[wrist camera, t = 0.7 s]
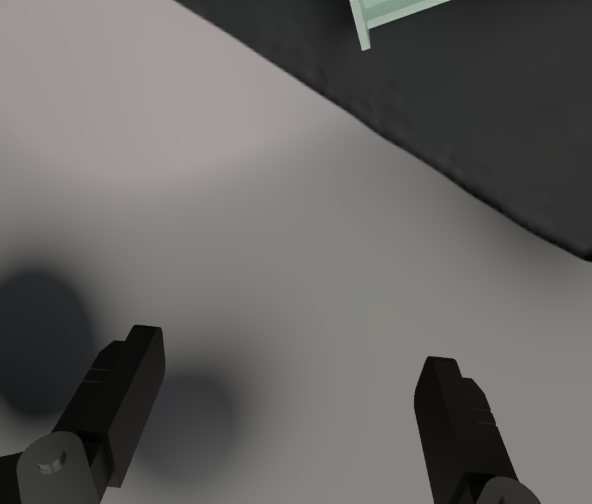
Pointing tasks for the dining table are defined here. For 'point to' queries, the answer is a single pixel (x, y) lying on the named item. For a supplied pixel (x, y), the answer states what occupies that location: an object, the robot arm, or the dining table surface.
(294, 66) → the dining table surface
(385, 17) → the pale green cubby shelf
